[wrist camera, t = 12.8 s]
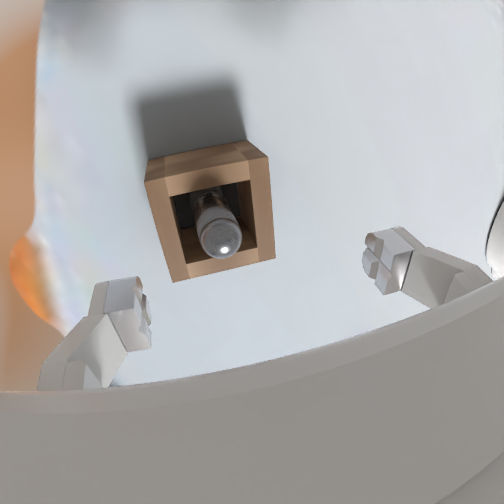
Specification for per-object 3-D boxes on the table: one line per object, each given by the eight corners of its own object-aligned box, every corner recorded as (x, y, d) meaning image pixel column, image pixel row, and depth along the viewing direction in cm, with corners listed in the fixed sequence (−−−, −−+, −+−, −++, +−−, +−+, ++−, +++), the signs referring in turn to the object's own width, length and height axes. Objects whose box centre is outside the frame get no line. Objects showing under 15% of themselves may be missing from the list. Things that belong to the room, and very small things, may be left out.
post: (218, 176, 19) (244, 223, 13) (223, 205, 20) (248, 261, 14) (186, 182, 18) (198, 233, 13) (192, 211, 19) (206, 271, 14)
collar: (247, 140, 18) (267, 157, 15) (256, 226, 21) (275, 258, 18) (148, 160, 17) (144, 182, 14) (169, 246, 20) (172, 282, 17)
